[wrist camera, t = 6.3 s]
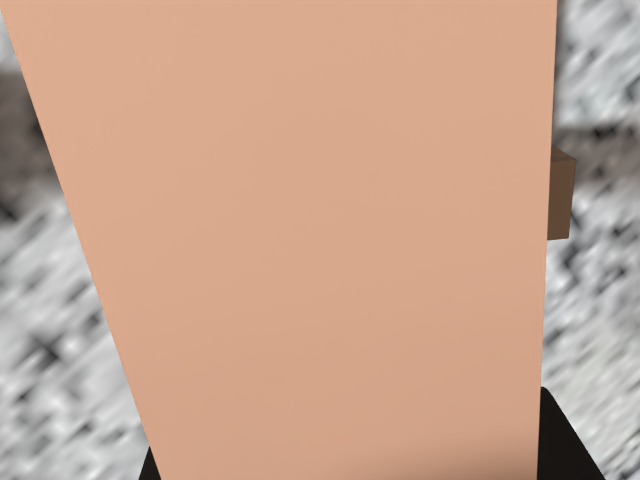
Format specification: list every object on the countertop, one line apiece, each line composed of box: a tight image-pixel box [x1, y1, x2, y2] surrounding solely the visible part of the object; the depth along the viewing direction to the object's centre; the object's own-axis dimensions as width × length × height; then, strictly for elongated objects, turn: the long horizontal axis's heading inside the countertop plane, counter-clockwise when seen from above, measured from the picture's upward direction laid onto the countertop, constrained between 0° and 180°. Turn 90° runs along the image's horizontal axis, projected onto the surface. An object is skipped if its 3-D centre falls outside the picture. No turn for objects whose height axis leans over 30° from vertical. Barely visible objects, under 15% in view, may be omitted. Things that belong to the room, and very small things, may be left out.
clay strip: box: [0, 0, 557, 480], centre depth 9 cm, size 4×16×4 cm, turn 7°
